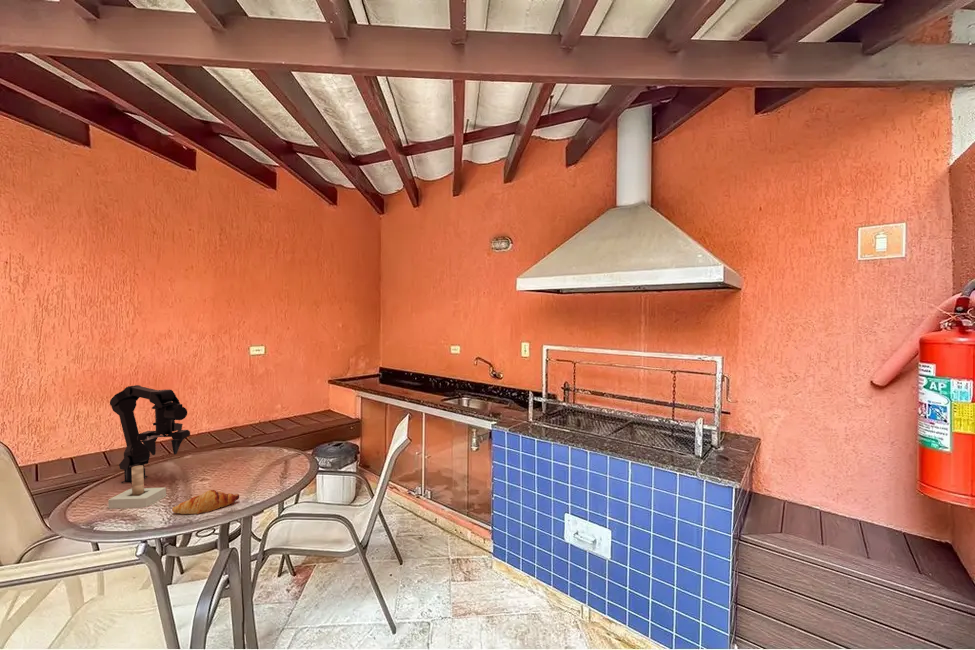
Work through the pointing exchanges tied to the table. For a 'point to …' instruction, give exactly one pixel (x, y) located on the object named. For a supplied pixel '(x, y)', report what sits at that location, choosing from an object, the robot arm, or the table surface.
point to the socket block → (137, 498)
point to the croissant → (205, 502)
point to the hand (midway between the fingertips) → (164, 454)
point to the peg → (137, 480)
